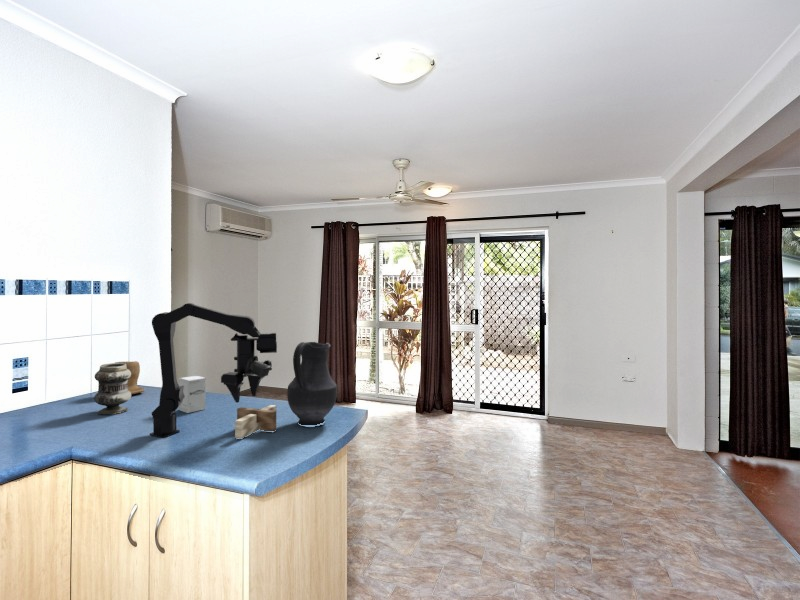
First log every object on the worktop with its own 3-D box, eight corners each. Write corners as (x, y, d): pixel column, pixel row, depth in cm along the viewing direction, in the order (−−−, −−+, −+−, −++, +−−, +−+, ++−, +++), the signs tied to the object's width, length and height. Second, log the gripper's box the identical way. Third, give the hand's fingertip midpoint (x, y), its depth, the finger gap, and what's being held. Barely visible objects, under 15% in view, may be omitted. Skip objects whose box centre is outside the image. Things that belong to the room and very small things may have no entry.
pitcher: (343, 419, 168) (344, 338, 167) (319, 437, 148) (319, 345, 147) (301, 414, 173) (302, 336, 172) (271, 431, 153) (272, 342, 152)
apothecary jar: (118, 416, 168) (118, 367, 167) (86, 415, 168) (85, 367, 167) (138, 407, 180) (137, 362, 179) (108, 407, 180) (107, 361, 179)
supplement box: (187, 413, 172) (187, 380, 172) (178, 410, 177) (178, 377, 177) (206, 409, 178) (206, 377, 178) (196, 406, 183) (196, 375, 182)
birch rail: (241, 440, 144) (241, 421, 144) (235, 439, 145) (235, 420, 145) (276, 422, 163) (276, 405, 163) (270, 421, 164) (270, 404, 164)
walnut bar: (276, 431, 153) (276, 410, 153) (273, 433, 151) (273, 412, 151) (240, 427, 157) (240, 407, 157) (237, 428, 155) (237, 408, 155)
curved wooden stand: (134, 390, 209) (134, 357, 208) (149, 393, 202) (148, 360, 202) (98, 396, 196) (98, 362, 195) (113, 400, 189) (112, 364, 189)
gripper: (249, 359, 143) (249, 408, 144) (281, 351, 161) (281, 394, 162) (219, 357, 147) (219, 405, 147) (254, 349, 165) (254, 392, 165)
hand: (245, 399), depth 155 cm, fingers open, 9 cm apart
